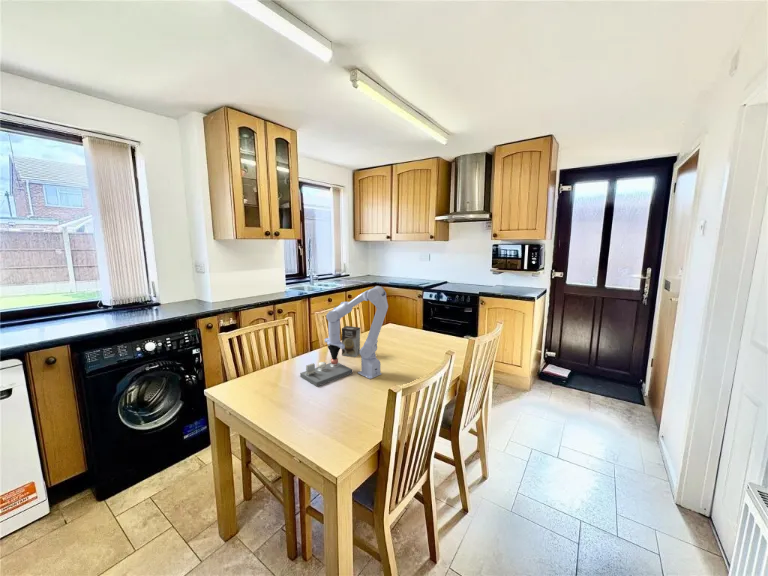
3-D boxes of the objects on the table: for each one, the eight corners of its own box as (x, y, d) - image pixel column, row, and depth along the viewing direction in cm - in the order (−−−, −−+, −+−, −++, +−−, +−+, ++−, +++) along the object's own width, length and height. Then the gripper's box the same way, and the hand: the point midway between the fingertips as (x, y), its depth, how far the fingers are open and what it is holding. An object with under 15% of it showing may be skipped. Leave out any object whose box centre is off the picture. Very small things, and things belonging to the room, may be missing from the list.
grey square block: (315, 373, 150) (315, 364, 149) (308, 375, 147) (308, 366, 146) (312, 371, 152) (312, 362, 151) (305, 373, 149) (305, 365, 148)
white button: (327, 367, 154) (327, 363, 154) (321, 369, 152) (321, 365, 151) (323, 365, 157) (323, 361, 156) (317, 367, 154) (317, 363, 154)
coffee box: (341, 355, 179) (341, 328, 176) (346, 351, 185) (346, 325, 182) (355, 357, 176) (355, 330, 173) (360, 353, 182) (360, 327, 179)
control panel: (352, 373, 156) (352, 369, 155) (316, 386, 141) (316, 382, 140) (335, 364, 165) (335, 361, 165) (300, 376, 150) (300, 372, 150)
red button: (339, 363, 160) (339, 359, 159) (333, 364, 157) (333, 361, 157) (335, 361, 162) (335, 357, 162) (329, 362, 159) (329, 359, 159)
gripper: (319, 331, 159) (319, 356, 161) (336, 338, 149) (336, 365, 151) (330, 329, 164) (331, 353, 166) (348, 335, 154) (348, 361, 156)
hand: (334, 358), depth 159 cm, fingers closed
